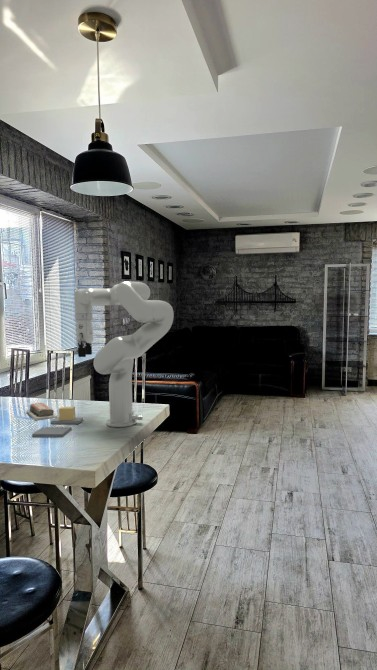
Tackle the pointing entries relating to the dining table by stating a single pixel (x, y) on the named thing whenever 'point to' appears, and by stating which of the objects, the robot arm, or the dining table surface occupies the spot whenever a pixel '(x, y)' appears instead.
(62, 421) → the yellow block
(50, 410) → the packaged product
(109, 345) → the robot arm
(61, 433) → the ticket board
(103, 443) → the dining table surface
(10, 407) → the dining table surface
